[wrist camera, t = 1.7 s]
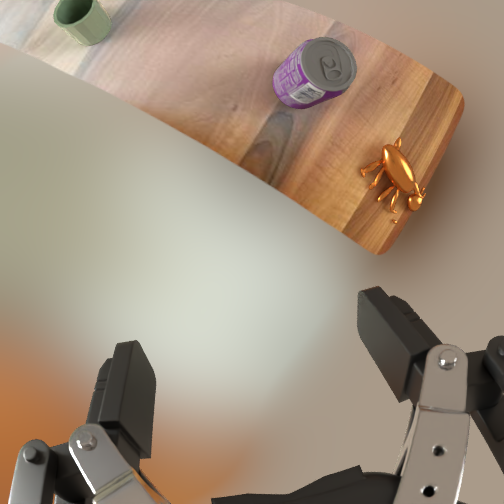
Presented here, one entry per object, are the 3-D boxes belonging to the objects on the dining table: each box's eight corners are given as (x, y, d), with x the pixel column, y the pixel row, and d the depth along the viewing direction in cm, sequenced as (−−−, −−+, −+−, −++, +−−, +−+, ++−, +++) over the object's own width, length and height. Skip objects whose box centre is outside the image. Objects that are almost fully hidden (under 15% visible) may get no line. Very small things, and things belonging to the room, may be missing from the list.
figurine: (400, 227, 48) (437, 175, 45) (408, 235, 45) (449, 180, 41) (345, 184, 46) (386, 127, 42) (352, 190, 43) (396, 129, 39)
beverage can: (328, 101, 40) (370, 86, 29) (283, 116, 40) (312, 103, 29) (310, 56, 38) (345, 28, 27) (263, 69, 38) (285, 40, 27)
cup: (67, 41, 32) (45, 23, 25) (87, 8, 31) (69, -14, 23) (98, 50, 34) (79, 31, 26) (119, 16, 32) (104, -7, 25)
